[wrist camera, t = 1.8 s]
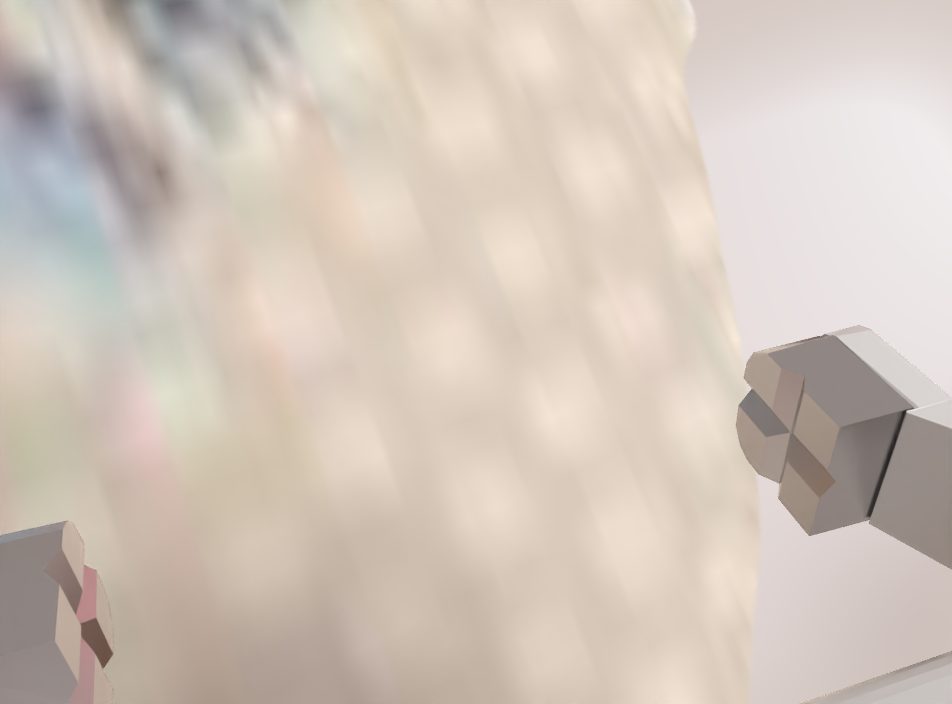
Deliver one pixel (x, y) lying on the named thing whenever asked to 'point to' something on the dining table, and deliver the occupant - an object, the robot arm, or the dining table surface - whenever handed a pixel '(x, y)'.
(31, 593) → the robot arm
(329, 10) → the dining table surface
